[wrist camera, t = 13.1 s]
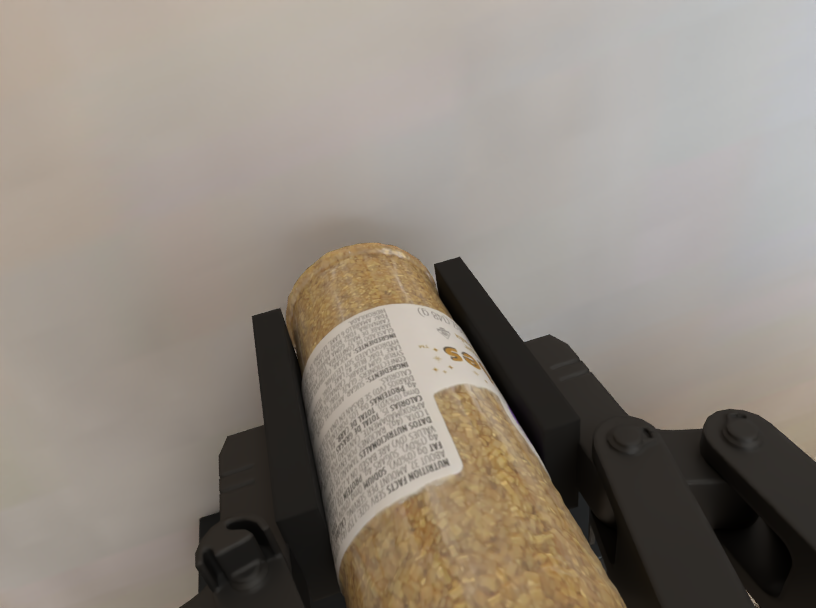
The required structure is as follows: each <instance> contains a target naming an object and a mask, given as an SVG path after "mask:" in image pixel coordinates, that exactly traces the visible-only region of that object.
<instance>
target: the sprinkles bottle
mask: <svg viewBox="0 0 816 608" xmlns="http://www.w3.org/2000/svg"><path fill="white" fill-rule="evenodd" d="M286 324H287V329H288V332H289V335H290V338H291V341H292V344H293V346H294V347H295V349H296V351H297V357H298V362H299V366H300V370H301V375H302V397H303V402H304V407H305V413H306V418H307V424H308V429H309V434H310V440H311V445H312V450H313V455H314V460H315V465H316V470H317V475H318V480H319V485H320V490H321V495H322V501H323V506H324V511H325V516H326V521H327V527H328V532H329V537H330V543H331V549H332V554H333V559H334V564H335V569H336V575H337V580H338V583H339V587H340V590H341V593H342V594H343V596H344V597H345V602H346V608H627V607H626V605H625V603H624V601H623V599H622V597H621V596H620V594H619V592H618V590H617V588H616V587H615V586H614V585H613V583H612V582H611V581H610V579H609V578H608V576H607V574H606V572H605V570H604V568H603V567H602V564H601V562H600V560H599V559H598V558H597V556H596V555H595V554H594V552H593V551H592V549H591V547H590V545H589V543H588V541H587V539H586V538H585V536H584V535H583V532H582V530H581V529H580V527H579V526H578V524H577V523H576V521H575V520H574V518H573V516H572V515H571V513H570V512H569V510H568V508H567V507H566V506H565V504H564V502H563V500H562V497H561V495H560V493H559V492H558V491H557V490H556V488H555V487H554V485H553V484H552V482H551V478H550V476H549V474H548V472H547V470H546V468H545V466H544V464H543V462H542V461H541V459H540V457H539V455H538V454H537V452H536V450H535V448H534V447H533V445H532V443H531V442H530V440H529V439H528V437H527V435H526V434H525V432H524V431H523V429H522V427H521V426H520V424H519V422H518V421H517V419H516V417H515V415H514V414H513V412H512V410H511V409H510V407H509V405H508V404H507V402H506V400H505V399H504V397H503V395H502V394H501V392H500V391H499V389H498V388H497V386H496V384H495V383H494V381H493V380H492V378H491V376H490V375H489V373H488V371H487V370H486V368H485V366H484V365H483V363H482V361H481V360H480V358H479V356H478V355H477V353H476V351H475V350H474V348H473V346H472V345H471V343H470V341H469V340H468V338H467V336H466V335H465V333H464V332H463V330H462V329H461V328H460V327H459V326H458V325H457V324H456V323H455V322H454V320H453V318H452V316H451V315H450V313H449V311H448V310H447V308H446V307H445V305H444V304H443V302H442V301H441V299H440V297H439V295H438V291H437V289H436V284H435V282H434V280H433V277H432V275H431V274H430V273H429V271H428V270H427V268H426V267H425V266H424V265H423V264H422V263H421V262H420V261H419V260H418V259H417V258H416V257H414V256H412V255H411V254H409V253H408V252H406V251H404V250H402V249H400V248H398V247H396V246H393V245H385V244H381V243H361V244H355V245H351V246H345V247H342V248H340V249H337V250H334V251H331V252H328V253H326V254H325V255H324V256H322V257H321V258H320V259H319V260H318V261H316V262H315V263H314V264H313V265H311V266H310V267H309V268H307V269H306V271H305V272H304V273H303V274H302V275H301V276H300V277H299V279H298V280H297V282H296V283H295V285H294V287H293V289H292V291H291V293H290V295H289V296H288V304H287V310H286Z"/></svg>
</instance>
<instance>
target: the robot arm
mask: <svg viewBox="0 0 816 608" xmlns="http://www.w3.org/2000/svg"><path fill="white" fill-rule="evenodd" d="M434 267H435V274H436V281H437V287H438V294H439V297H440V299H441V301H442V302H443V304H444V305H445V307H446V308H447V310H448V311H449V313H450V315H451V316H452V318H453V320H454V322H455V323H456V324H457V325H458V326H459V327H460V328H461V329H462V330H463V332H464V333H465V335H466V336H467V338H468V340H469V341H470V343H471V345H472V346H473V348H474V350H475V351H476V353H477V355H478V356H479V358H480V360H481V361H482V363H483V365H484V366H485V368H486V370H487V371H488V373H489V375H490V376H491V378H492V380H493V381H494V383H495V384H496V386H497V388H498V389H499V391H500V392H501V394H502V395H503V397H504V399H505V400H506V402H507V404H508V405H509V407H510V409H511V410H512V412H513V414H514V415H515V417H516V419H517V421H518V422H519V424H520V426H521V427H522V429H523V431H524V432H525V434H526V435H527V437H528V439H529V440H530V442H531V443H532V445H533V447H534V448H535V450H536V452H537V454H538V455H539V457H540V459H541V461H542V462H543V464H544V466H545V468H546V470H547V472H548V474H549V476H550V478H551V482H552V484H553V485H554V487H555V488H556V490H557V491H558V492H559V493H560V495H561V497H562V500H563V502H564V504H565V506H566V507H567V508H568V510H570V509H573V508H576V507H578V495H579V492H580V493H581V495H582V496H583V498H584V499H585V501H586V502H587V504H588V506H589V526H588V538H589V545H593V544H595V539H596V541H597V544H598V547H599V550H600V552H601V555H602V558H603V561H604V564H605V566H606V569H607V572H608V575H609V578H610V580H611V582H612V583H613V585H614V586H615V587H616V588H617V590H618V592H619V594H620V596H621V597H622V599H623V601H624V603H625V605H626V607H627V608H755V606H754V604H753V602H752V601H751V599H750V597H749V595H748V593H749V594H750V595H751V596H752V598H753V599H754V600H755V601H756V602H757V604H758V605H759V606H760V607H761V608H816V462H815V461H814V460H813V459H811V458H810V457H809V456H808V455H807V454H806V453H804V452H803V451H802V450H801V449H800V448H799V447H798V446H796V445H795V444H794V443H793V442H792V441H791V440H789V439H788V438H787V437H786V436H785V435H784V434H783V433H781V432H780V431H779V430H778V429H777V428H776V427H774V426H773V425H772V424H771V423H770V422H768V421H766V420H765V419H763V418H762V417H760V416H759V415H756V414H753V413H750V412H747V411H744V410H734V409H727V410H722V411H717V412H715V413H714V414H712V415H710V416H709V417H708V418H707V420H706V422H705V424H704V426H703V429H689V430H660V429H655V427H654V426H652V425H651V424H649V423H647V422H646V421H644V420H642V419H639V418H635V417H631V416H629V415H628V414H627V413H626V412H625V411H624V410H623V409H622V408H621V407H620V406H619V404H618V403H617V402H616V401H615V400H614V398H613V397H612V396H611V395H610V394H609V393H608V391H607V390H606V389H605V388H604V387H603V385H602V384H601V383H600V382H599V381H598V380H597V378H596V377H595V376H594V375H593V374H592V372H589V369H588V368H587V367H586V365H585V364H584V363H583V362H582V361H580V359H579V357H578V356H577V355H576V354H575V352H574V351H573V350H572V349H571V348H570V346H569V345H568V344H566V343H564V342H563V341H561V340H559V339H557V338H555V337H553V336H552V335H550V334H549V335H546V336H543V337H540V338H536V339H533V340H530V341H527V342H523V341H522V339H521V338H520V337H519V335H518V334H517V333H516V331H515V330H514V329H513V327H512V326H511V325H510V323H509V322H508V321H507V319H506V318H505V317H504V315H503V314H502V313H501V311H500V310H499V309H498V307H497V306H496V305H495V303H494V302H493V301H492V299H491V298H490V296H489V295H488V294H487V292H486V291H485V290H484V288H483V287H482V286H481V284H480V283H479V282H478V280H477V279H476V278H475V276H474V275H473V274H472V272H471V271H470V270H469V268H468V267H467V266H466V264H465V263H464V262H463V260H462V259H461V258H460V257H457V258H454V259H450V260H447V261H443V262H440V263H436V264H434ZM252 321H253V330H254V339H255V348H256V356H257V365H258V374H259V383H260V392H261V401H262V409H263V418H264V425H262V426H259V427H256V428H253V429H250V430H246V431H243V432H240V433H237V434H234V435H230V436H227V439H226V441H225V443H224V445H223V448H222V450H221V452H220V454H219V476H220V479H219V491H220V521H219V522H218V523H217V524H215V525H214V526H212V527H211V528H210V529H209V531H208V532H207V533H206V534H205V535H204V537H203V538H202V539H201V541H200V543H199V546H198V548H197V551H196V553H195V567H196V568H197V570H198V571H199V573H200V574H201V576H202V578H203V579H204V581H205V582H206V584H207V585H206V586H205V587H204V589H203V590H202V591H201V592H200V593H198V594H197V595H196V596H195V597H194V598H192V599H191V600H190V601H188V602H187V603H185V604H184V605H182V606H181V607H179V608H311V604H310V597H309V594H310V596H311V598H312V600H313V602H315V601H318V600H320V599H323V598H326V597H329V596H331V595H334V594H337V593H340V592H341V590H340V587H339V583H338V580H337V575H336V569H335V564H334V559H333V554H332V549H331V543H330V537H329V532H328V527H327V521H326V516H325V511H324V506H323V501H322V495H321V490H320V485H319V480H318V475H317V470H316V465H315V460H314V455H313V450H312V445H311V440H310V434H309V429H308V424H307V418H306V413H305V407H304V402H303V397H302V375H301V370H300V366H299V362H298V359H297V356H296V353H295V350H294V347H293V344H292V341H291V338H290V335H289V332H288V329H287V327H286V324H285V321H284V318H283V315H282V312H281V309H280V308H279V309H275V310H272V311H268V312H265V313H261V314H258V315H254V316H252ZM745 589H746V590H747V592H748V593H747V592H746V590H745Z"/></svg>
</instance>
